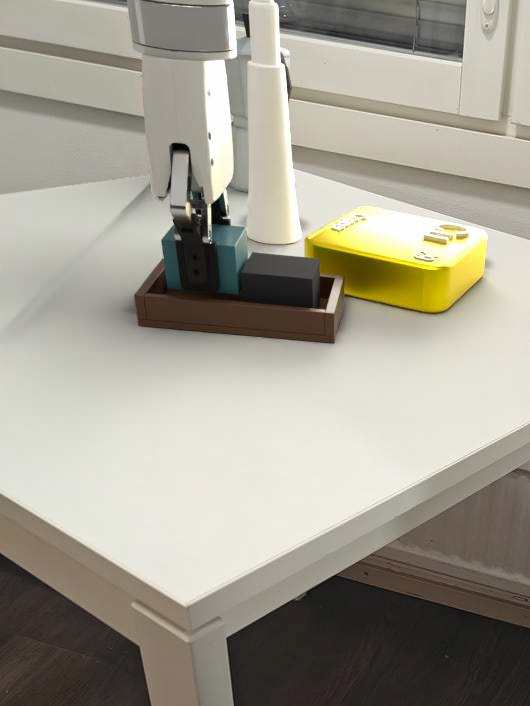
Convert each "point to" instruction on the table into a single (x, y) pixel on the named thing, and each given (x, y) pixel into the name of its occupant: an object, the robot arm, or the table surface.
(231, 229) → the teal block
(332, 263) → the element tile
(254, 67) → the cosmetic bottle
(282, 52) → the coffee maker
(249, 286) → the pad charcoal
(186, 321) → the tray
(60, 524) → the table surface
